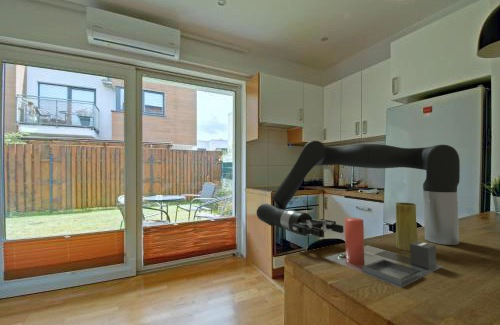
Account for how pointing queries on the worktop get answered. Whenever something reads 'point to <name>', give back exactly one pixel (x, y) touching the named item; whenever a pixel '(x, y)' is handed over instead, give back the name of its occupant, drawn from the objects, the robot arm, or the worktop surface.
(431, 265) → the breaker
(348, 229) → the red tapered cylinder
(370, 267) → the panel
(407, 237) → the vase
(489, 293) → the worktop surface
